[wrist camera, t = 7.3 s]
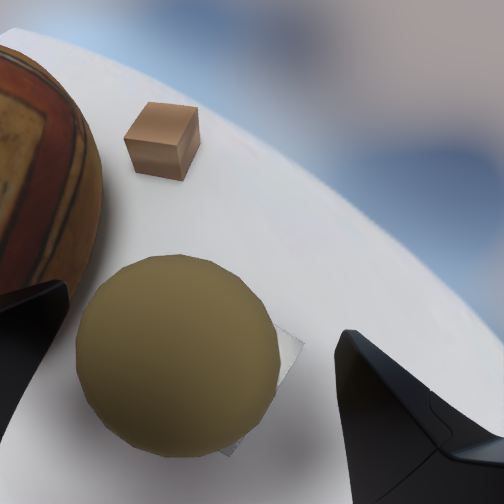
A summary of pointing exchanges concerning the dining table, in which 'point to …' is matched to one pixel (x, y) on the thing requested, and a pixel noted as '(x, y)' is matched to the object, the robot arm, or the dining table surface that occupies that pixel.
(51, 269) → the ceramic pitcher
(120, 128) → the dining table surface
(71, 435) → the dining table surface
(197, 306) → the cork
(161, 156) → the walnut block
